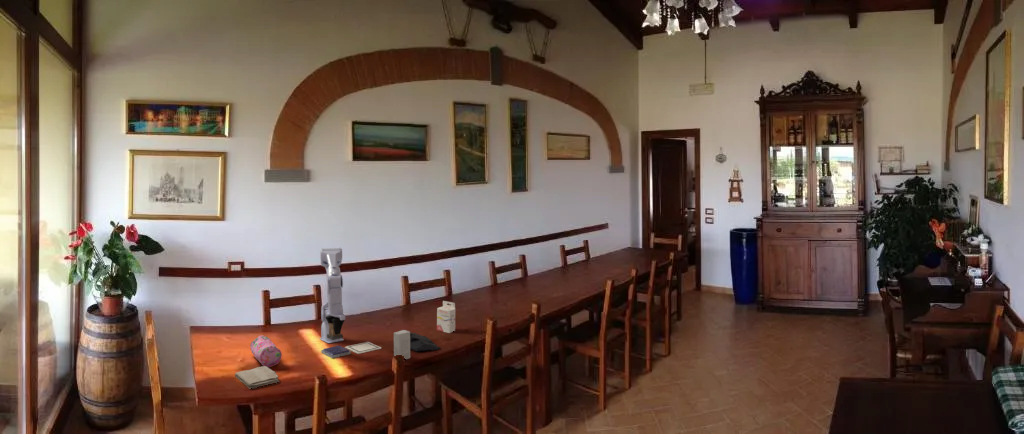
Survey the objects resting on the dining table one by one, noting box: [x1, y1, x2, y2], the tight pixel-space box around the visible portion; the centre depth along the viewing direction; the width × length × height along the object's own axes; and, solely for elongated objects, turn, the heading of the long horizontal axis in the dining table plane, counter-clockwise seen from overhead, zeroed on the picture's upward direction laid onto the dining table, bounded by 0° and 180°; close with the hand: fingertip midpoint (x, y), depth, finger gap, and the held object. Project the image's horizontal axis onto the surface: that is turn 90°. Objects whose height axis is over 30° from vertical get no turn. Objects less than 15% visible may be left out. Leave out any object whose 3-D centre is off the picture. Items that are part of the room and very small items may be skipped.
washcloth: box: [234, 365, 280, 390], centre depth 233 cm, size 12×18×3 cm, turn 43°
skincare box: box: [393, 329, 411, 360], centre depth 260 cm, size 6×4×12 cm
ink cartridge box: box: [436, 300, 456, 334], centre depth 304 cm, size 9×5×15 cm, turn 58°
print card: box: [344, 341, 382, 355], centre depth 274 cm, size 12×12×1 cm
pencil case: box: [249, 335, 283, 368], centre depth 254 cm, size 21×9×9 cm, turn 33°
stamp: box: [327, 323, 344, 340], centre depth 264 cm, size 5×5×6 cm
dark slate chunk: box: [410, 332, 442, 353], centre depth 280 cm, size 15×22×5 cm
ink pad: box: [321, 345, 352, 359], centre depth 266 cm, size 10×9×2 cm
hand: (335, 332), depth 265 cm, fingers closed on stamp, 4 cm apart
